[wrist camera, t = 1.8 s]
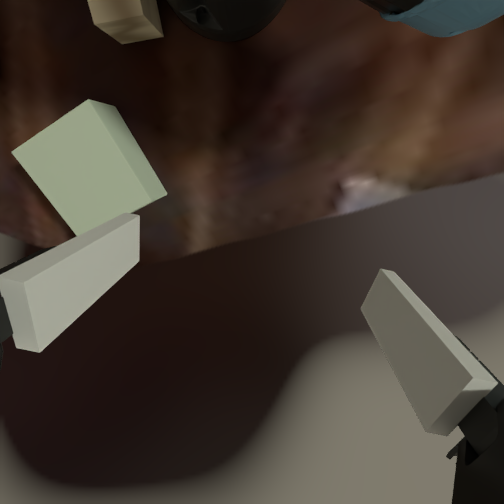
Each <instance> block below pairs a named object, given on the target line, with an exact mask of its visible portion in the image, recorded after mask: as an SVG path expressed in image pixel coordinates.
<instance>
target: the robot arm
mask: <svg viewBox="0 0 504 504" xmlns="http://www.w3.org/2000/svg"><path fill="white" fill-rule="evenodd" d="M360 1H361V2H363V3H365V4H367V5H368V6H370V7H372V8H373V9H375V10H377V11H378V12H379V13H380V15H381V17H382V18H383V19H385V20H388V21H394V22H395V21H401V22H403V23H405V24H407V25H409V26H411V27H413V28H415V29H417V30H420V31H422V32H424V33H426V34H428V35H431V36H435V37H451V36H454V35H457V34H460V33H463V32H465V31H467V30H473V29H476V28H478V27H481V26H483V25H485V24H487V23H488V22H490V21H492V20H494V19H496V18H498V17H500V16H501V15H503V14H504V0H360ZM167 2H168V3H169V5H170V6H171V8H172V9H173V11H174V12H175V13H176V15H177V16H178V17H179V18H180V19H181V20H182V21H183V22H184V23H185V24H186V25H187V26H188V27H189V28H191V29H192V30H193V31H195V32H196V33H198V34H200V35H202V36H204V37H206V38H209V39H212V40H216V41H223V42H230V41H238V40H242V39H245V38H248V37H250V36H252V35H254V34H256V33H257V32H259V31H260V30H262V29H263V28H264V27H265V26H267V25H268V24H269V23H270V22H271V21H272V20H273V19H274V18H275V16H276V15H277V14H278V13H279V11H280V10H281V8H282V7H283V5H284V3H285V2H286V0H167ZM139 226H140V216H139V215H135V214H130V213H126V212H125V213H123V214H121V215H119V216H117V217H115V218H113V219H111V220H109V221H107V222H105V223H103V224H101V225H99V226H97V227H95V228H93V229H91V230H89V231H87V232H85V233H83V234H81V235H79V236H77V237H75V238H73V239H71V240H69V241H67V242H65V243H63V244H61V245H59V246H54V247H50V248H46V249H42V250H39V251H37V252H35V253H33V254H31V255H29V256H28V257H27V258H26V257H24V258H22V259H20V260H18V261H17V263H15V262H14V263H12V264H10V265H8V266H6V267H4V268H1V269H0V369H1V362H2V355H3V348H2V345H1V342H3V341H4V340H5V339H7V338H8V337H9V336H11V335H12V334H13V338H14V341H15V345H16V348H20V349H25V350H29V351H34V352H41V351H42V350H43V349H44V348H45V347H46V346H47V345H49V344H50V343H51V341H53V340H54V339H55V338H56V337H57V336H58V335H59V334H60V333H61V332H63V331H64V330H65V329H66V328H67V327H68V326H69V325H70V324H71V323H72V322H74V321H75V320H76V319H77V318H78V317H79V316H80V315H81V314H82V313H83V312H84V311H85V310H86V309H88V308H89V307H90V306H91V305H92V304H93V303H94V302H95V301H96V300H97V299H98V298H99V297H100V296H102V295H103V294H104V293H105V292H106V291H107V290H108V289H109V288H110V287H112V286H113V285H114V284H115V283H116V282H117V281H118V280H119V279H120V278H121V277H122V276H123V275H125V274H126V273H127V272H128V271H129V270H130V269H131V268H132V267H133V266H134V265H135V264H136V263H138V262H139ZM361 311H362V313H363V315H364V317H365V318H366V320H367V322H368V324H369V326H370V328H371V330H372V331H373V333H374V335H375V337H376V339H377V341H378V343H379V345H380V347H381V349H382V351H383V352H384V354H385V356H386V358H387V360H388V362H389V364H390V366H391V368H392V369H393V371H394V373H395V375H396V377H397V379H398V381H399V383H400V385H401V386H402V388H403V390H404V392H405V394H406V396H407V398H408V400H409V402H410V403H411V405H412V407H413V409H414V411H415V413H416V415H417V416H418V419H419V420H420V422H421V424H422V426H423V428H424V430H425V432H429V433H434V434H438V435H443V436H448V435H449V434H450V433H451V432H452V431H453V430H454V429H455V428H456V426H459V428H460V429H461V431H462V432H463V434H464V435H465V437H464V438H463V439H462V440H461V441H460V442H459V443H458V444H457V445H456V446H455V447H454V448H453V449H451V450H450V451H449V452H448V454H447V456H446V457H447V458H449V459H451V458H452V457H453V456H457V463H456V472H455V480H454V489H453V498H452V504H504V385H503V384H502V383H501V382H500V381H499V380H498V379H497V378H496V377H495V376H494V375H493V374H492V373H491V372H490V370H489V369H488V368H487V367H486V366H485V365H484V364H483V363H482V362H481V361H478V358H477V357H476V356H475V355H474V354H473V353H472V352H470V349H469V348H468V347H467V346H466V345H465V344H464V343H463V342H462V341H461V340H460V339H459V338H458V337H456V336H455V335H454V334H452V333H451V332H450V331H449V330H448V329H447V328H446V327H445V326H444V324H443V323H442V322H441V321H440V320H439V319H438V318H437V317H436V316H435V315H434V314H433V313H432V312H431V311H430V309H429V308H428V307H426V305H425V304H424V303H423V302H422V301H421V300H420V299H419V298H418V297H417V296H416V295H415V293H414V292H413V291H412V290H411V289H410V288H409V287H408V286H407V285H406V284H405V283H404V282H403V281H402V279H401V278H400V277H399V276H398V275H397V274H396V273H395V272H393V271H389V270H384V269H380V271H379V273H378V275H377V277H376V279H375V281H374V283H373V285H372V287H371V289H370V291H369V293H368V295H367V297H366V299H365V301H364V303H363V305H362V307H361Z"/></svg>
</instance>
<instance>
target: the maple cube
mask: <svg viewBox="0 0 504 504" xmlns="http://www.w3.org/2000/svg"><path fill="white" fill-rule="evenodd" d="M87 1H88V4H89V8H90V11H91V15H92V18H93V22H94V25H96V26H97V27H99V28H100V29H101V30H103V31H104V32H106V33H107V34H108V35H110V36H111V37H113V38H114V39H115V40H117V41H118V42H120V43H121V44H127V43H132V42H138V41H143V40H149V39H154V38H160V37H164V36H163V31H162V26H161V21H160V16H159V11H158V6H157V1H156V0H87Z"/></svg>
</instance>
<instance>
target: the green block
mask: <svg viewBox="0 0 504 504" xmlns="http://www.w3.org/2000/svg"><path fill="white" fill-rule="evenodd" d="M12 154H13V155H14V156H15V157H16V159H17V160H18V161H19V163H20V164H21V165H22V166H23V168H24V169H25V170H26V172H27V173H28V174H29V175H30V177H31V178H32V179H33V180H34V182H35V183H36V184H37V186H38V187H39V188H40V189H41V191H42V192H43V193H44V195H45V196H46V197H47V198H48V200H49V201H50V202H51V204H52V205H53V206H54V207H55V209H56V210H57V211H58V213H59V214H60V215H61V216H62V218H63V219H64V220H65V221H66V223H67V224H68V225H69V227H70V228H71V229H72V230H73V232H74V233H75V234H76V236H79V235H81V234H83V233H85V232H87V231H89V230H91V229H93V228H95V227H97V226H99V225H101V224H103V223H105V222H107V221H109V220H111V219H113V218H115V217H117V216H119V215H121V214H123V213H125V212H126V213H130V214H131V213H133V212H135V211H137V210H139V209H141V208H142V207H144V206H146V205H148V204H150V203H152V202H154V201H156V200H158V199H160V198H162V197H163V196H165V195H167V192H166V191H165V189H164V187H163V186H162V184H161V182H160V181H159V179H158V177H157V176H156V174H155V172H154V170H153V169H152V167H151V165H150V164H149V162H148V160H147V159H146V157H145V155H144V154H143V152H142V150H141V149H140V147H139V145H138V144H137V142H136V140H135V139H134V137H133V135H132V134H131V132H130V130H129V129H128V127H127V125H126V124H125V122H124V120H123V119H122V117H121V115H120V114H119V112H118V110H117V109H116V107H115V106H112V105H108V104H104V103H101V102H97V101H93V100H89V99H88V100H86V101H85V102H83V103H82V104H80V105H79V106H78V107H76V108H75V109H73V110H72V111H70V112H69V113H67V114H66V115H64V116H63V117H62V118H60V119H59V120H57V121H56V122H54V123H53V124H51V125H50V126H48V127H47V128H46V129H44V130H43V131H41V132H40V133H38V134H37V135H35V136H34V137H32V138H31V139H29V140H28V141H27V142H25V143H24V144H22V145H21V146H19V147H18V148H16V149H15V150H13V151H12Z"/></svg>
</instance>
